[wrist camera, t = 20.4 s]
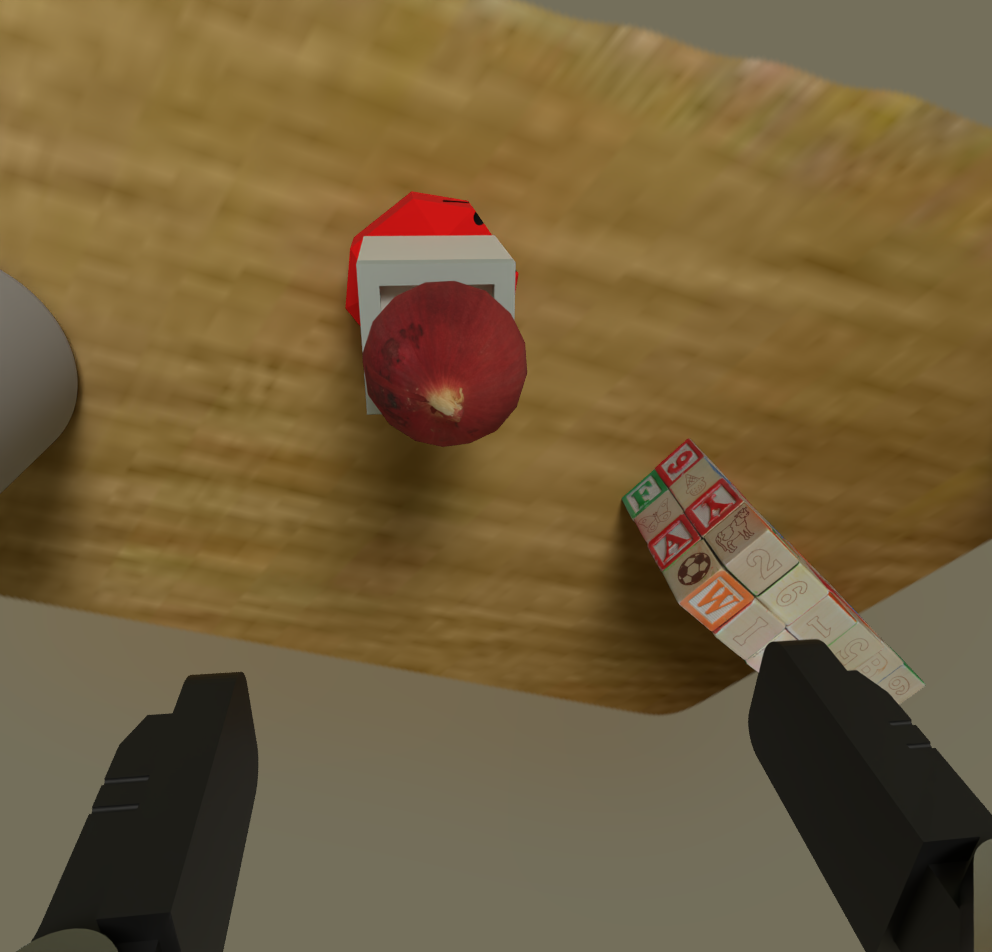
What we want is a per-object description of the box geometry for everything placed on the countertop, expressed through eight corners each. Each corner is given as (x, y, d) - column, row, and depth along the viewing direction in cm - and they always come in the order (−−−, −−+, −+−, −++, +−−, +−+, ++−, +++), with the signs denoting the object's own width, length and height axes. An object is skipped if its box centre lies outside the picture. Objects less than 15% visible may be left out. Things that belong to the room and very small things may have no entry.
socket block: (494, 235, 34) (515, 262, 28) (493, 359, 37) (512, 409, 31) (363, 236, 33) (356, 264, 27) (372, 363, 36) (367, 414, 30)
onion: (388, 408, 31) (362, 499, 24) (365, 270, 28) (327, 325, 21) (525, 395, 31) (540, 482, 24) (514, 255, 28) (527, 305, 21)
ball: (524, 283, 43) (548, 316, 36) (416, 364, 44) (419, 410, 37) (441, 163, 39) (450, 174, 32) (327, 254, 41) (313, 283, 34)
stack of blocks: (851, 603, 57) (959, 720, 46) (787, 652, 58) (877, 777, 47) (686, 435, 48) (771, 529, 38) (617, 497, 50) (678, 606, 39)
